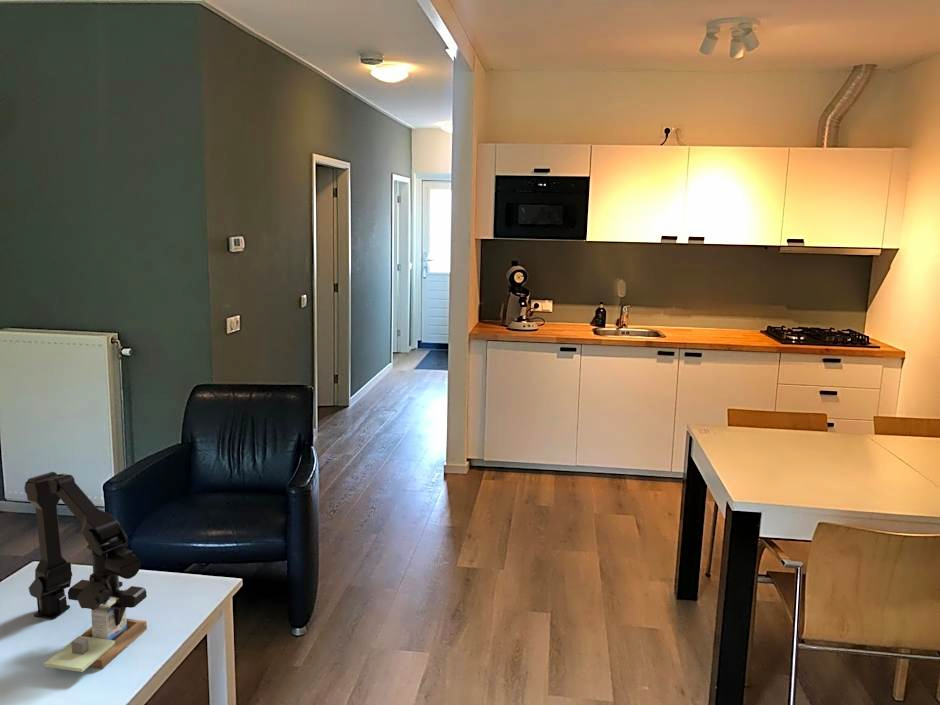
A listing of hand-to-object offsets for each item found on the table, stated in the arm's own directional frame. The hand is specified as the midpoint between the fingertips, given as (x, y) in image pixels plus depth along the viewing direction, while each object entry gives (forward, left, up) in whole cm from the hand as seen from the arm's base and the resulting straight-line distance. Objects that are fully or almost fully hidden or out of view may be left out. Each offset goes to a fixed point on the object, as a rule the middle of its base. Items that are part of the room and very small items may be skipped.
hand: (109, 623), depth 194 cm
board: (0, -3, -5) cm, 5 cm away
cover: (0, -11, -2) cm, 11 cm away
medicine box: (0, 0, -3) cm, 3 cm away
